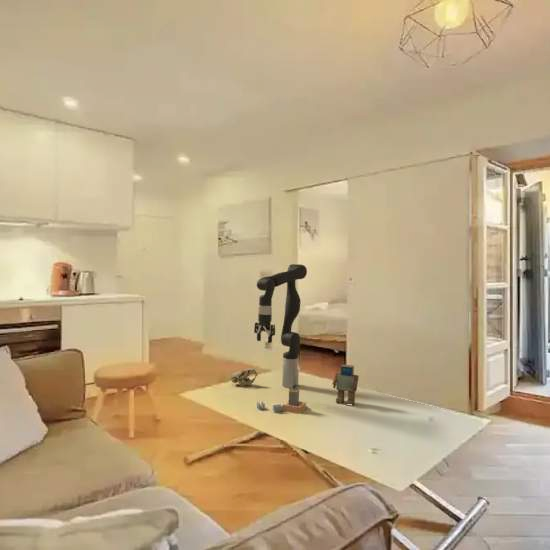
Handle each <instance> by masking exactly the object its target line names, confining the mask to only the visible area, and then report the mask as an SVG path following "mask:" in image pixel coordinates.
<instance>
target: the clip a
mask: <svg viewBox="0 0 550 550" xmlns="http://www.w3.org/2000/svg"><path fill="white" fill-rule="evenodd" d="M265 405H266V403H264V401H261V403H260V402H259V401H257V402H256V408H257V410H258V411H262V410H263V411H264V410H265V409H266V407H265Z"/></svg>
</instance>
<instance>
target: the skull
mask: <svg viewBox="0 0 550 550" xmlns="http://www.w3.org/2000/svg"><path fill="white" fill-rule="evenodd" d="M252 374H253V375H254V377H253V378H252V379H250V377H249V376H251V375H252ZM257 377H258V373H257V371H256V370H255V368H245V369H241V370H238V371H236V372H234V373H232V374H231V376H230V379H231V380H232V381H231V382H232V383H233V384H236V385H237V386H240V387H244V386H245V385H248V386H250V385H252V384H253V383H254V382H255V380H256V378H257ZM245 387H246V386H245Z"/></svg>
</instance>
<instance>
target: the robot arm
mask: <svg viewBox="0 0 550 550" xmlns="http://www.w3.org/2000/svg"><path fill="white" fill-rule="evenodd" d="M307 274H308V270H307V267H306V265H304V264H300V263H299V264H293V263H292V264H289V265H288V268H287V271H282V272H278V273H275V274H272V275H270V276H264V277H261V278H259V279H258V280H257V282H256V288H257V289H258V290H260V291H262V292H263V291H264V294H261V295H259V299H258V300H259V301H258V306H259V307H258V314H257V315H258V319H257V322H254V327H253V329H254V330H253V331H254V332H253V333H254V334H256V341H257V342H261V339H262V334H261V333H262V332H265V333H266V334H267V343H268V344H271V343H272V342H273V337H274V336H276V324H271V322H272V315H273V314H272V313H273V311H272V310H273V309H272V303H273V301H272V299H273V296H274V291H275V290H276V287H279V286H281V285H284V284H286V297H285V305H284V317H283V324H282V330H281V334H280V343H281V344H282V346H284V347H289V348H288V351H284V352H283V354H282V380H281V381H282V384H281V385H282V387H284V388H290V387H292V386H293V384H296V387H298V386H299V372H300V370H299V355H300V347H301V346H300V345H301V337H300V334H299V333H298V332H295V331H292V327H293V323H294V321H295V320H296V318H297V317H298V315H299V313H300V310H301V302H302V301H301V298H300V294H299V292H298V291H297V288H296V281H297V280H303V279H304V278H306V276H307Z"/></svg>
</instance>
